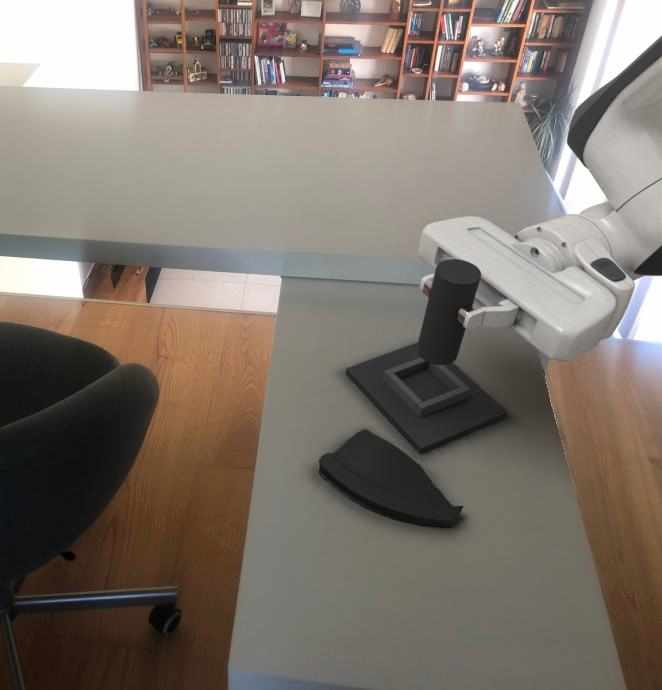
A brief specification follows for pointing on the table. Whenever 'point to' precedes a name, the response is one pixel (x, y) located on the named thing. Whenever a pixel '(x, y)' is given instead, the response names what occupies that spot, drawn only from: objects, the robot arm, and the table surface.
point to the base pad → (424, 397)
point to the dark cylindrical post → (447, 310)
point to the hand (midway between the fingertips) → (443, 303)
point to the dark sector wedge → (386, 481)
